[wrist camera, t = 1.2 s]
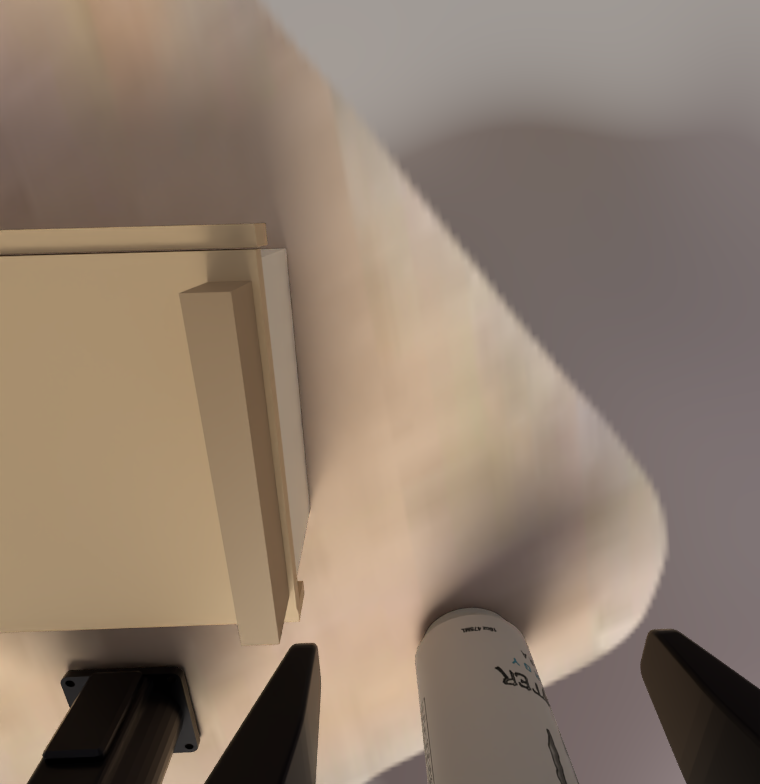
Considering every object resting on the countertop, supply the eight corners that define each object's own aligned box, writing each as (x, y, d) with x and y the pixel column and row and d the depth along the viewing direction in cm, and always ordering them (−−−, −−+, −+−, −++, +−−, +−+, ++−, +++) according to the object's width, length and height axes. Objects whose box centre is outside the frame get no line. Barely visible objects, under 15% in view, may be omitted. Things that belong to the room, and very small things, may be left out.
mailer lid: (304, 593, 18) (289, 676, 15) (-60, 606, 18) (-158, 694, 15) (265, 223, 13) (230, 225, 10) (-235, 235, 13) (-440, 242, 10)
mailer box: (310, 509, 22) (294, 587, 17) (15, 519, 22) (-80, 601, 17) (286, 248, 18) (257, 258, 13) (-80, 257, 18) (-242, 272, 13)
